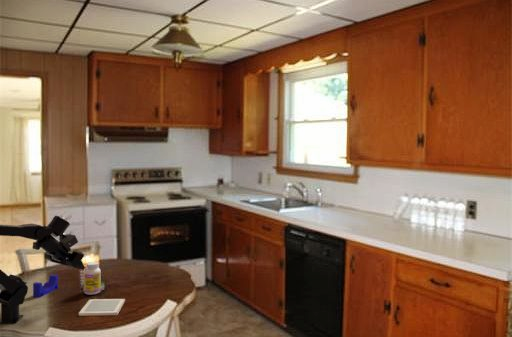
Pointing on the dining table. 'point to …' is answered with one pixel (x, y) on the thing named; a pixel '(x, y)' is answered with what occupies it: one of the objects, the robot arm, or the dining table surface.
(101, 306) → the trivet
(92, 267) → the supplement bottle
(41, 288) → the cable clip
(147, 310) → the dining table surface
